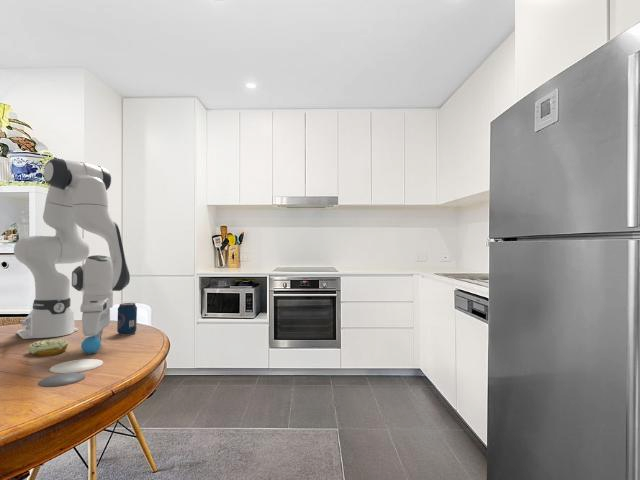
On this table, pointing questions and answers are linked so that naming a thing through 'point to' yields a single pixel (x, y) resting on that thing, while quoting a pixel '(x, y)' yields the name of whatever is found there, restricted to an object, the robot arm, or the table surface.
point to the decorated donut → (48, 347)
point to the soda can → (127, 319)
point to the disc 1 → (61, 379)
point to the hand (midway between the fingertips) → (97, 343)
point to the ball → (91, 345)
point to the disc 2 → (76, 366)
